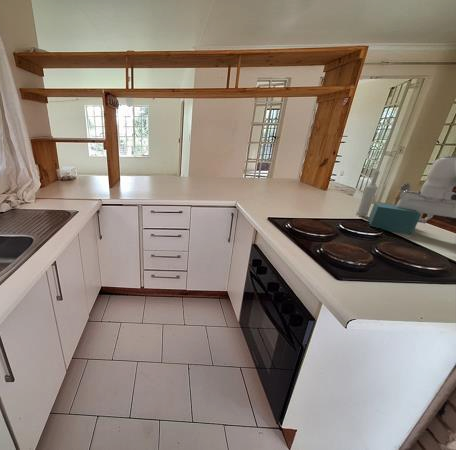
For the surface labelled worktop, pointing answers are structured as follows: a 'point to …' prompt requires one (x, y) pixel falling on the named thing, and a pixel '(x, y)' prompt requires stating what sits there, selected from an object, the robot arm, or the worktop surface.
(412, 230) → the drawer
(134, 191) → the worktop surface
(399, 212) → the cabinet
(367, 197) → the bottle
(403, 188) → the pepper mill
